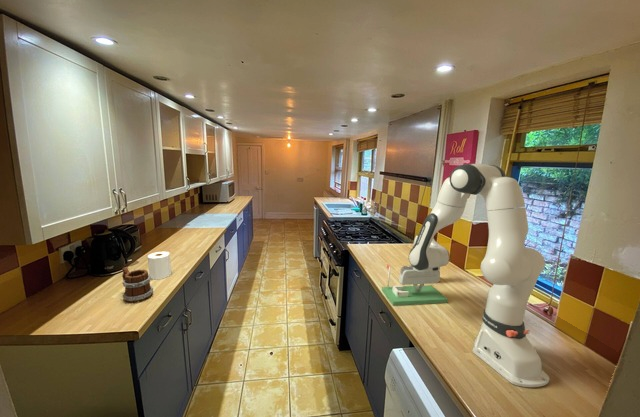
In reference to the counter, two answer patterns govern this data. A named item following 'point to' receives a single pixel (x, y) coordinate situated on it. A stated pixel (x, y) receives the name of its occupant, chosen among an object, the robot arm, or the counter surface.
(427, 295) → the green
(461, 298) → the counter surface
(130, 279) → the wooden bucket
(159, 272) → the toilet paper
